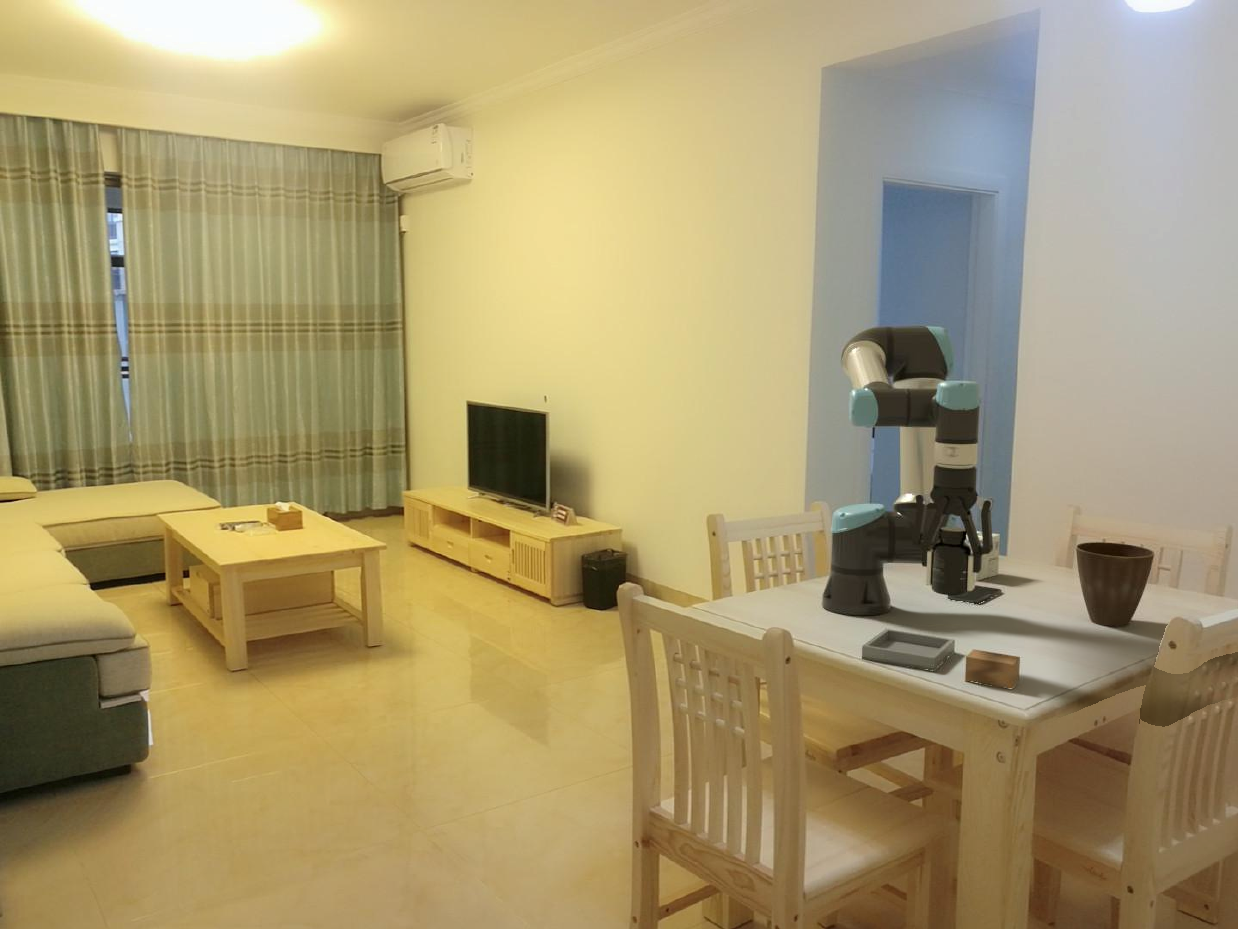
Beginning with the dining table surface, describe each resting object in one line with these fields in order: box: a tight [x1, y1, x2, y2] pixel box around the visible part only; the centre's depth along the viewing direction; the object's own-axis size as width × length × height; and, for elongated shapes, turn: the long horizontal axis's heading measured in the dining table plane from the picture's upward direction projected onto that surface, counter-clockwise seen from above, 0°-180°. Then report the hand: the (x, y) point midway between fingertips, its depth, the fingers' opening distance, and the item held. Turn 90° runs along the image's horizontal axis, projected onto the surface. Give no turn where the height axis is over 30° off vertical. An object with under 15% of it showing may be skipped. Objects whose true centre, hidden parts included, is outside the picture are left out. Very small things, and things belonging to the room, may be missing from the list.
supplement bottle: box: [930, 526, 971, 596], centre depth 185 cm, size 7×7×12 cm
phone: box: [946, 584, 1002, 605], centre depth 235 cm, size 8×1×15 cm
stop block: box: [964, 649, 1021, 689], centre depth 175 cm, size 8×5×4 cm, turn 56°
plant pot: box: [1075, 541, 1155, 628], centre depth 211 cm, size 15×15×16 cm
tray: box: [861, 628, 956, 672], centre depth 190 cm, size 14×14×2 cm
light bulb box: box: [965, 530, 1001, 582], centre depth 254 cm, size 11×7×11 cm, turn 130°
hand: (950, 586), depth 186 cm, fingers closed on supplement bottle, 7 cm apart
